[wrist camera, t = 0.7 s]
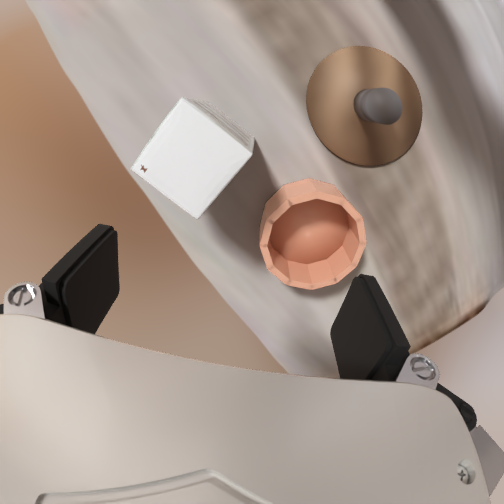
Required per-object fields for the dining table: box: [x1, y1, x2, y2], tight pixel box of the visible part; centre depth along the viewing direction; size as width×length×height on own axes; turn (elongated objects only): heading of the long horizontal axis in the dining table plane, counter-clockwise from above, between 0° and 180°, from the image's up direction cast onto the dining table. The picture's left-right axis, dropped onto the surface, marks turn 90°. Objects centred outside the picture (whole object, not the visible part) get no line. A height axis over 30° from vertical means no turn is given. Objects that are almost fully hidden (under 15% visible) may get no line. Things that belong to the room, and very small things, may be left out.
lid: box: [306, 46, 422, 166], centre depth 28 cm, size 15×15×6 cm
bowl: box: [259, 178, 366, 290], centre depth 35 cm, size 12×12×6 cm
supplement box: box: [131, 97, 255, 219], centre depth 27 cm, size 7×7×13 cm
